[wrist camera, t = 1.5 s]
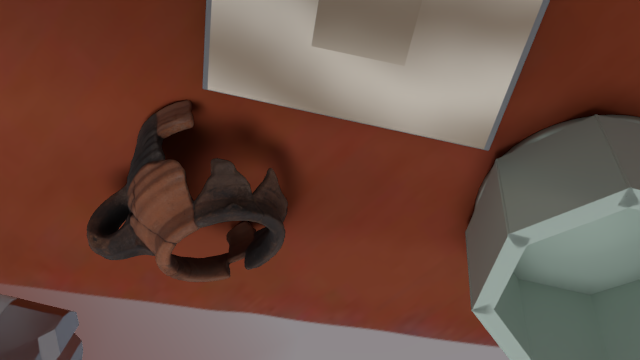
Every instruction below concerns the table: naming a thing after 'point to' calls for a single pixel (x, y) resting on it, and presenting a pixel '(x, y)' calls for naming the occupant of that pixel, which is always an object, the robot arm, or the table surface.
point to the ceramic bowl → (561, 243)
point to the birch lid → (375, 59)
